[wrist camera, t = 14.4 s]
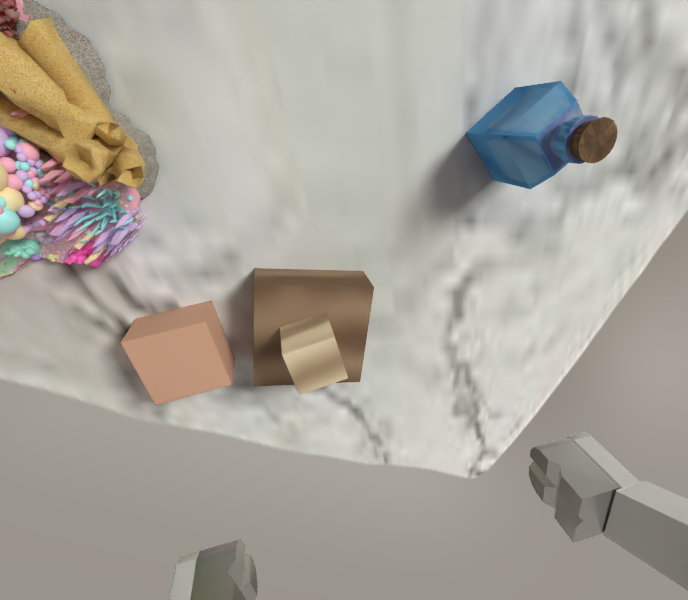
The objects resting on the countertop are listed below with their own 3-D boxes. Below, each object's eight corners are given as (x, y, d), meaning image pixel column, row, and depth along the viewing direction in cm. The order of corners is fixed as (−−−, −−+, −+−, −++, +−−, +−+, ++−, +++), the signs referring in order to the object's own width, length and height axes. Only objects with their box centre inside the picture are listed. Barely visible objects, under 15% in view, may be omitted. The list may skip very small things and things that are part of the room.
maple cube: (279, 327, 37) (282, 354, 32) (326, 311, 37) (334, 337, 33) (295, 364, 39) (299, 394, 35) (338, 349, 39) (348, 378, 35)
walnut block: (254, 267, 39) (253, 285, 34) (362, 269, 41) (373, 287, 37) (255, 359, 44) (253, 386, 39) (350, 357, 46) (359, 381, 42)
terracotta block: (136, 317, 38) (120, 342, 34) (211, 299, 39) (205, 321, 35) (166, 375, 42) (155, 404, 38) (234, 357, 43) (231, 384, 38)
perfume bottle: (465, 132, 37) (547, 136, 26) (515, 87, 36) (621, 72, 25) (493, 180, 39) (577, 200, 29) (540, 139, 38) (645, 144, 28)
